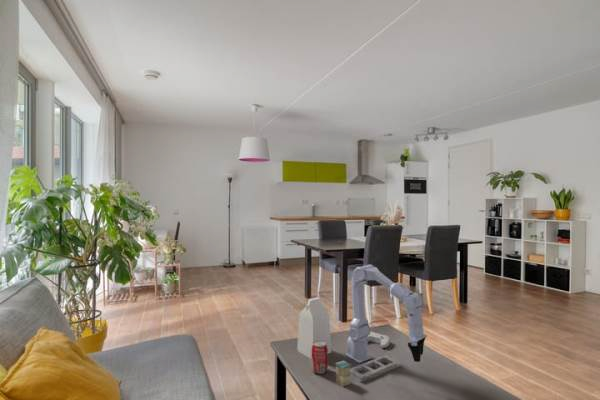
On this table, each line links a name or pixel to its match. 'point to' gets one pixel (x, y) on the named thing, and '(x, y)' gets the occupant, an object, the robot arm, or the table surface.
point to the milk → (313, 327)
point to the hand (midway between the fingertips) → (418, 357)
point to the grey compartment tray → (370, 372)
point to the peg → (343, 373)
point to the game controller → (379, 339)
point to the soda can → (319, 357)
